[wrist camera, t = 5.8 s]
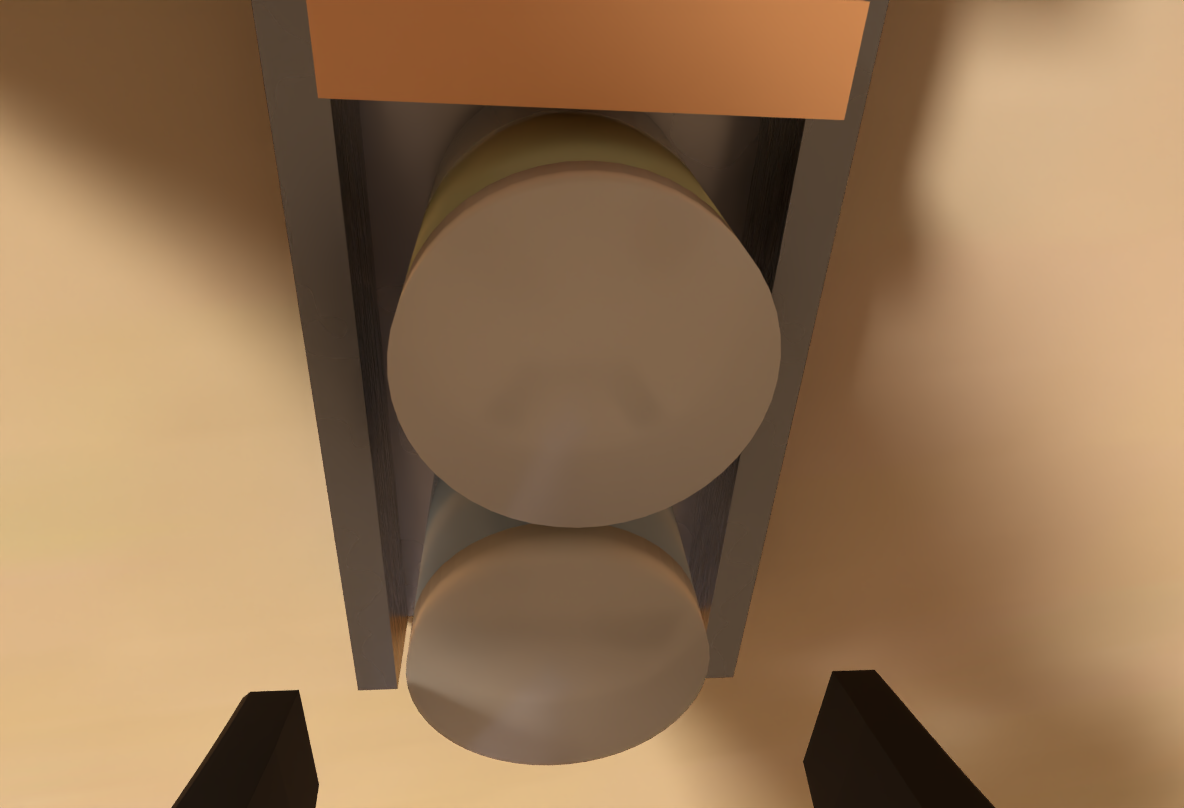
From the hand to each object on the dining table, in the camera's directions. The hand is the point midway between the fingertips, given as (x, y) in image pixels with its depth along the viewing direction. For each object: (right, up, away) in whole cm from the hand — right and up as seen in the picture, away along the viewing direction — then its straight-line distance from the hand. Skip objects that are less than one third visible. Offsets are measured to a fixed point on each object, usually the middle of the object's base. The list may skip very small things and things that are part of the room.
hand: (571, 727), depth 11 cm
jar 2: (-1, +3, +5) cm, 6 cm away
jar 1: (0, +8, +3) cm, 8 cm away
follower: (0, +11, +1) cm, 11 cm away
